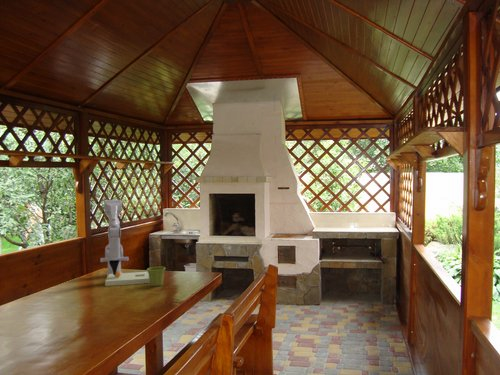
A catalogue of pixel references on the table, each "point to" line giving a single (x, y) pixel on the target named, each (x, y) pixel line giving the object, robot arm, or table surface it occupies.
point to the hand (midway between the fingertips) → (114, 274)
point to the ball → (117, 274)
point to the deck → (128, 279)
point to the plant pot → (156, 275)
